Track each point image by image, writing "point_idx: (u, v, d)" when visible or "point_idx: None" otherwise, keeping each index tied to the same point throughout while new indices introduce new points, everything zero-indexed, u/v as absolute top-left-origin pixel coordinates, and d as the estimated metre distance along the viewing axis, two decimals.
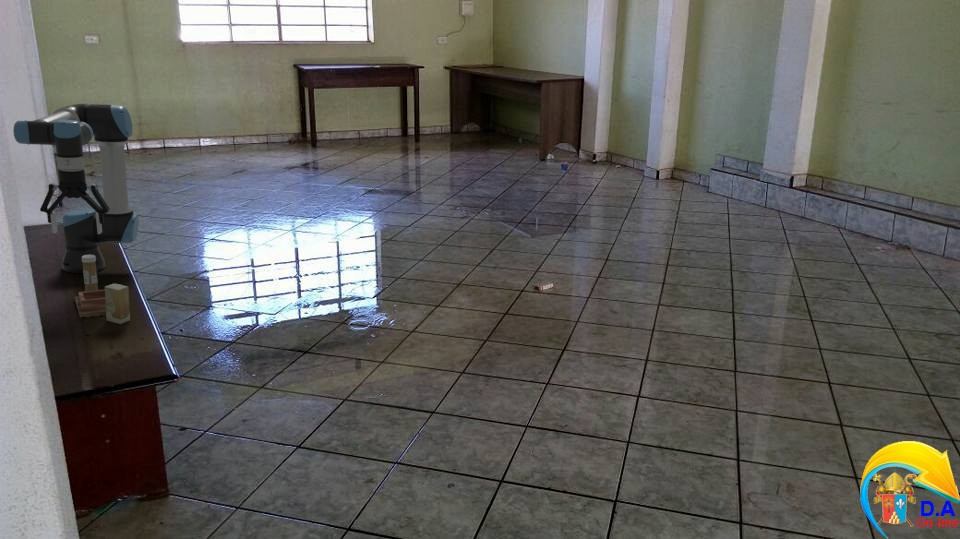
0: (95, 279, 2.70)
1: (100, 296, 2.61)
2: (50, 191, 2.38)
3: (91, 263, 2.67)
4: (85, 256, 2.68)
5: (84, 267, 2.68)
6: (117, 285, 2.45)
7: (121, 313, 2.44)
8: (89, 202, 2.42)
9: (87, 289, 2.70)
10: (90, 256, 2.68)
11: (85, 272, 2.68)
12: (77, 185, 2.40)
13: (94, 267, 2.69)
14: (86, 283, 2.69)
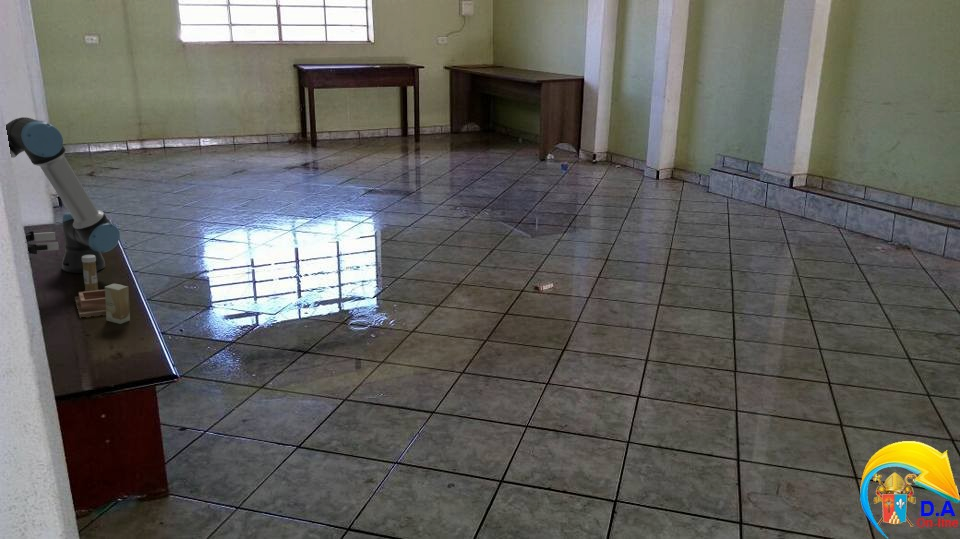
0: (95, 279, 2.70)
1: (100, 296, 2.61)
2: None
3: (91, 263, 2.67)
4: (85, 256, 2.68)
5: (84, 267, 2.68)
6: (117, 285, 2.45)
7: (121, 313, 2.44)
8: None
9: (87, 289, 2.70)
10: (90, 256, 2.68)
11: (85, 272, 2.68)
12: None
13: (94, 267, 2.69)
14: (86, 283, 2.69)
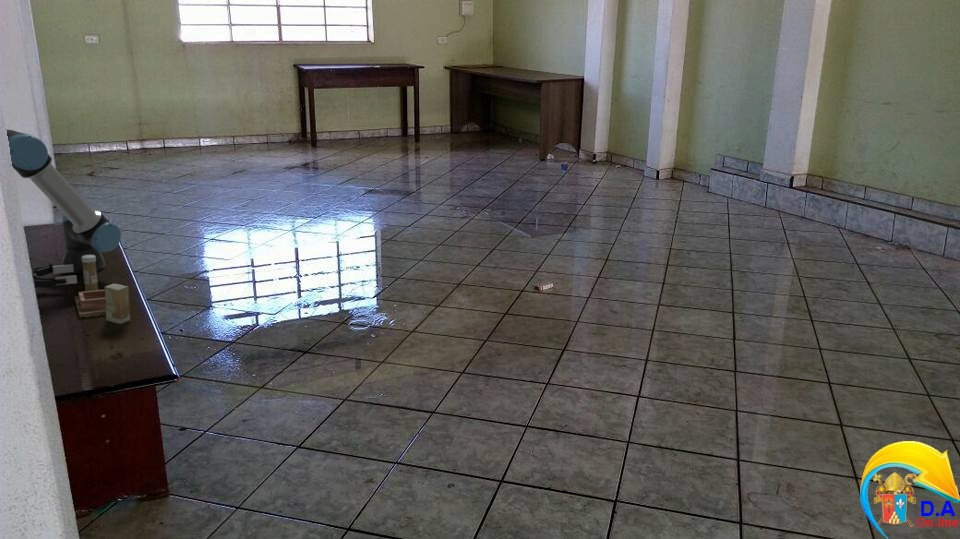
0: (95, 279, 2.70)
1: (100, 296, 2.61)
2: None
3: (91, 263, 2.67)
4: (85, 256, 2.68)
5: (84, 267, 2.68)
6: (117, 285, 2.45)
7: (121, 313, 2.44)
8: None
9: (87, 289, 2.70)
10: (90, 256, 2.68)
11: (85, 272, 2.68)
12: None
13: (94, 267, 2.69)
14: (86, 283, 2.69)
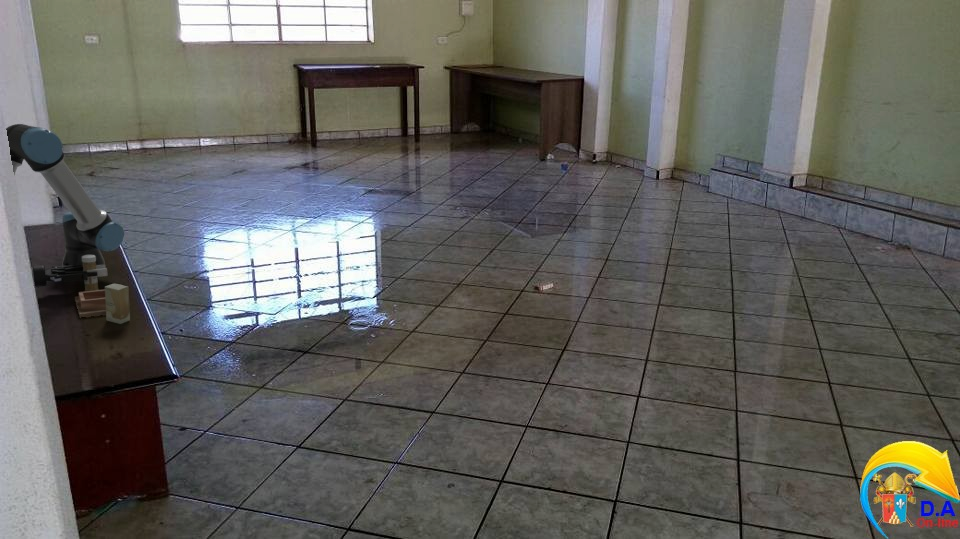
0: (95, 279, 2.70)
1: (100, 296, 2.61)
2: None
3: (91, 263, 2.67)
4: (85, 256, 2.68)
5: (84, 267, 2.68)
6: (117, 285, 2.45)
7: (121, 313, 2.44)
8: None
9: (87, 289, 2.70)
10: (90, 256, 2.68)
11: None
12: None
13: (94, 267, 2.69)
14: (86, 283, 2.69)
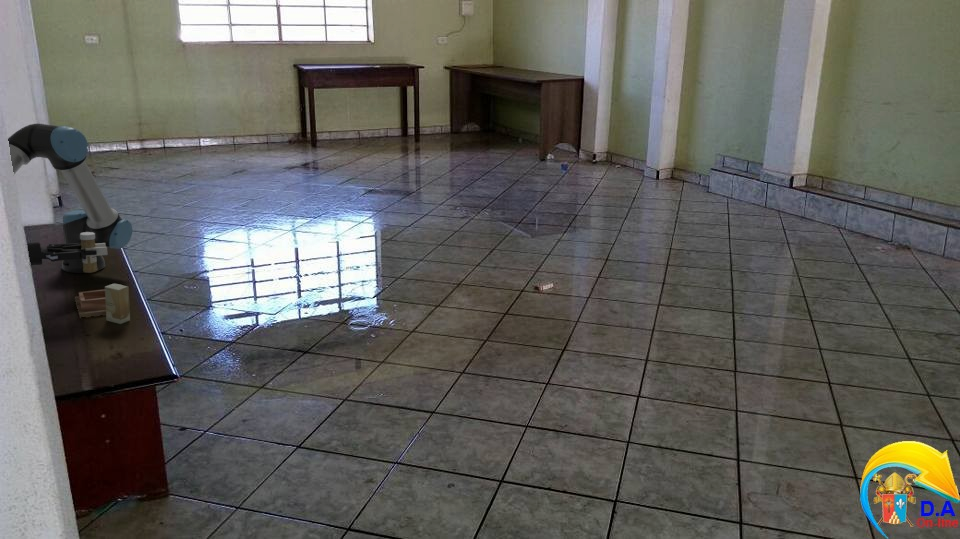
0: (94, 258, 2.53)
1: (100, 296, 2.61)
2: None
3: (89, 240, 2.50)
4: (83, 233, 2.50)
5: (82, 245, 2.50)
6: (117, 285, 2.45)
7: (121, 313, 2.44)
8: None
9: (85, 269, 2.52)
10: (89, 233, 2.51)
11: None
12: None
13: (93, 245, 2.52)
14: (84, 262, 2.52)
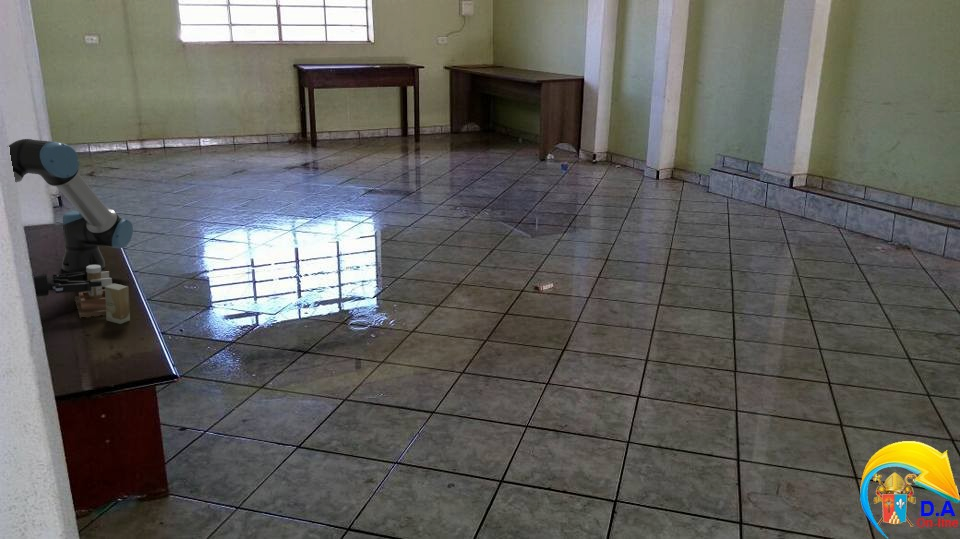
0: (100, 291, 2.55)
1: None
2: None
3: (96, 273, 2.52)
4: (90, 266, 2.53)
5: (88, 278, 2.53)
6: (117, 285, 2.45)
7: (121, 313, 2.44)
8: None
9: None
10: (95, 266, 2.53)
11: None
12: None
13: (99, 278, 2.54)
14: (90, 295, 2.54)
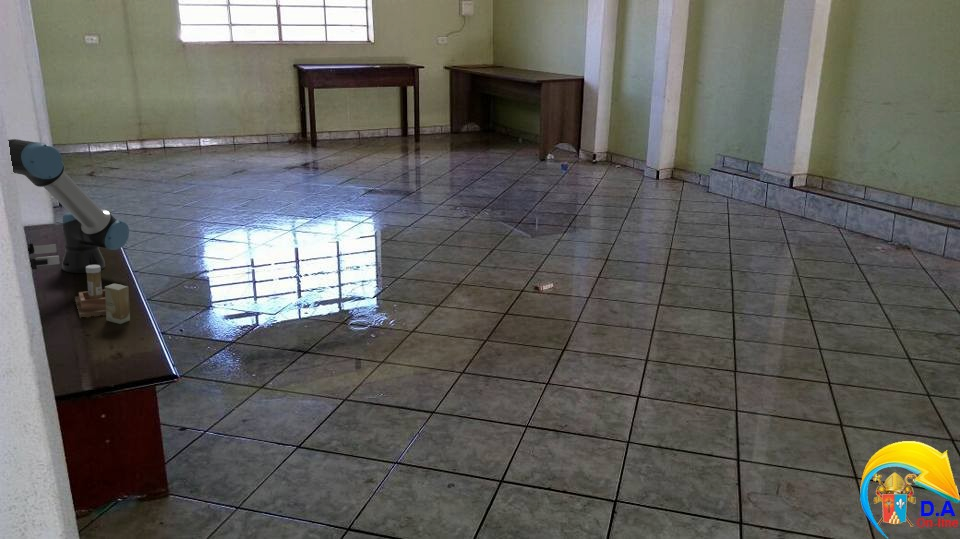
0: (100, 290, 2.55)
1: None
2: None
3: (95, 273, 2.53)
4: (89, 266, 2.53)
5: (88, 278, 2.53)
6: (117, 285, 2.45)
7: (121, 313, 2.44)
8: None
9: None
10: (94, 266, 2.53)
11: (89, 283, 2.53)
12: None
13: (99, 278, 2.54)
14: (90, 295, 2.54)
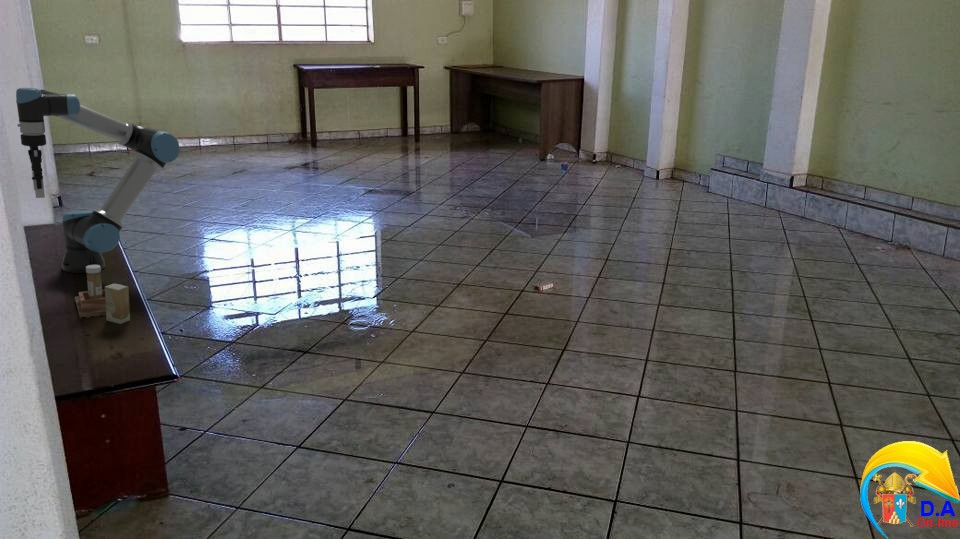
0: (100, 290, 2.55)
1: None
2: None
3: (95, 273, 2.53)
4: (89, 266, 2.53)
5: (88, 278, 2.53)
6: (117, 285, 2.45)
7: (121, 313, 2.44)
8: None
9: None
10: (95, 266, 2.53)
11: (89, 283, 2.53)
12: None
13: (99, 278, 2.54)
14: (90, 295, 2.54)
